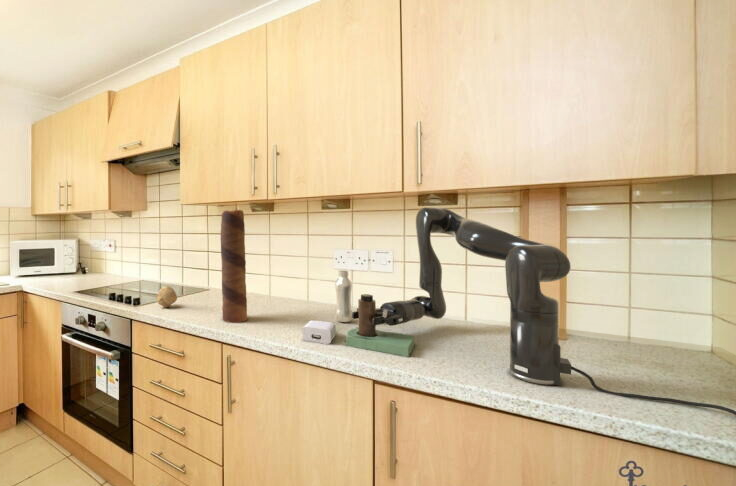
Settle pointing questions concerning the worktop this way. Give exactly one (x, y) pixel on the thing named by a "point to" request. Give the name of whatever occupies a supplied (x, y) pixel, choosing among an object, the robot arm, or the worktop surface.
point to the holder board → (382, 342)
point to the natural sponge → (166, 296)
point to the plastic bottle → (343, 297)
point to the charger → (319, 332)
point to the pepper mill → (366, 315)
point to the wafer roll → (233, 266)
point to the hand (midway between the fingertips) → (362, 318)
